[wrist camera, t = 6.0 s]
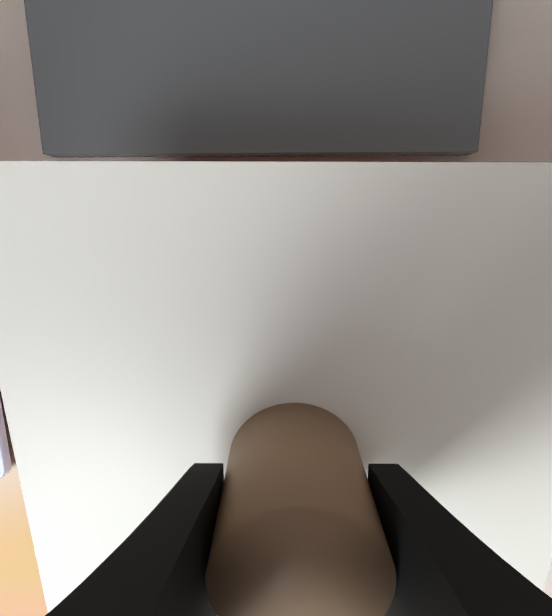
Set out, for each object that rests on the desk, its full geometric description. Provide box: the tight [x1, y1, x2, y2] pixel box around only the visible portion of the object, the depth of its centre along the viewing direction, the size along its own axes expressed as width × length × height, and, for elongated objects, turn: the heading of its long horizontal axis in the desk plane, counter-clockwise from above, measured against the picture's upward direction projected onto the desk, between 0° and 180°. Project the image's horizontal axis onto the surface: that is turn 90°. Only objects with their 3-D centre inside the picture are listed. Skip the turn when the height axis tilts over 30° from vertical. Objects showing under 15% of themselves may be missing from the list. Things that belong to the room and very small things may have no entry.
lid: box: [0, 161, 552, 616], centre depth 8 cm, size 13×13×4 cm
